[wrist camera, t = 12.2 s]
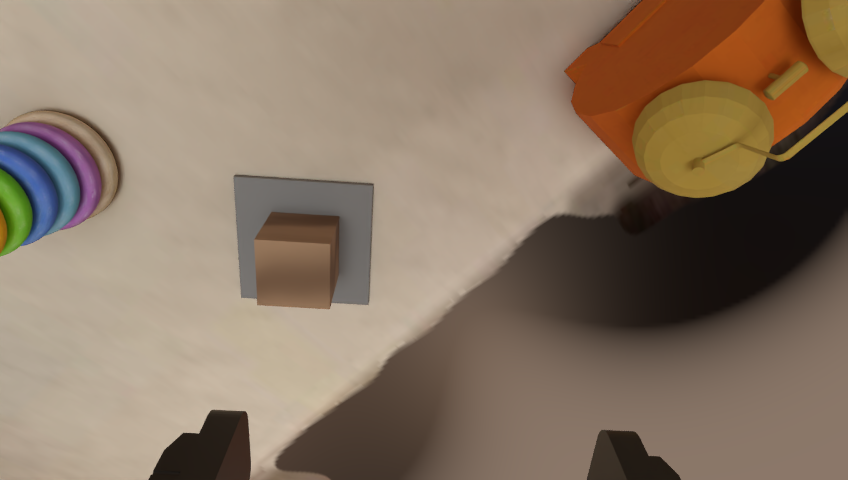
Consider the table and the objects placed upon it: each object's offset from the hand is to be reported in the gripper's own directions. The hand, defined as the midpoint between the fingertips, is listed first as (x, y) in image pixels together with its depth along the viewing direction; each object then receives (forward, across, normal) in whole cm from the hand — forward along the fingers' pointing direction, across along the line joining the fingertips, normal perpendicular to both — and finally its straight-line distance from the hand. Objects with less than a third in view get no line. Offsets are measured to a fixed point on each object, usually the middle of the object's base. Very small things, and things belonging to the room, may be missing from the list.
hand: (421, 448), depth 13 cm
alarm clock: (+30, -15, -7) cm, 35 cm away
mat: (+30, +8, +9) cm, 32 cm away
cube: (+30, +8, +9) cm, 32 cm away
